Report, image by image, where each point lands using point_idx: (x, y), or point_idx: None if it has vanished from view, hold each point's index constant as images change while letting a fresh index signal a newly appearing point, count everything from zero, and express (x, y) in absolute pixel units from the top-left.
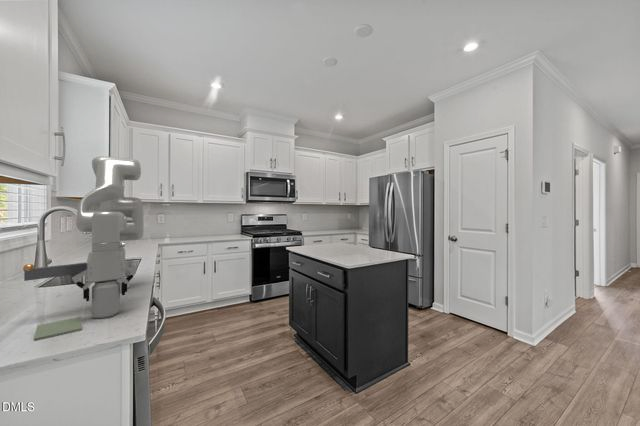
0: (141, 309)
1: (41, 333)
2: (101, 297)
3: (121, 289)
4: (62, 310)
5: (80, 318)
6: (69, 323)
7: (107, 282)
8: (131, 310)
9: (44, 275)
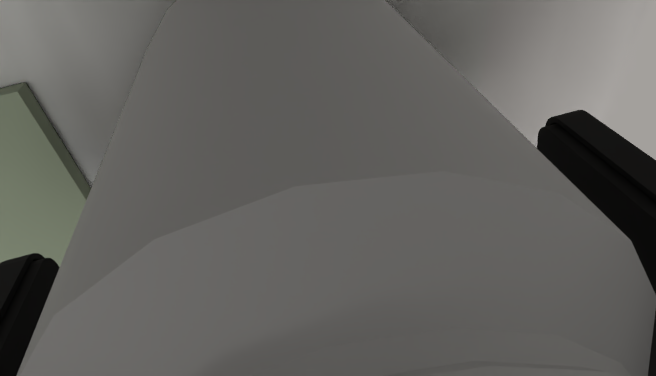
0: (598, 63)
1: None
2: None
3: (588, 169)
4: None
5: (52, 155)
6: (20, 256)
7: None
8: (514, 47)
9: None
